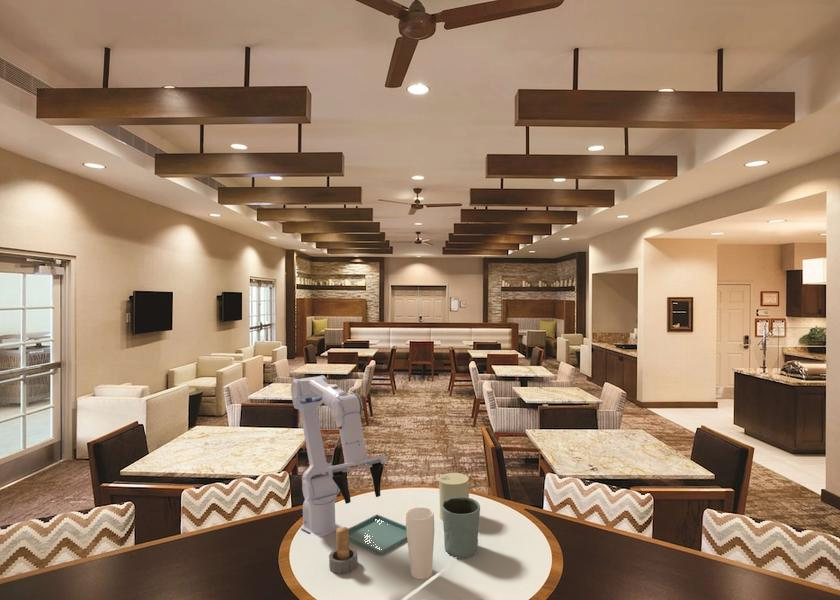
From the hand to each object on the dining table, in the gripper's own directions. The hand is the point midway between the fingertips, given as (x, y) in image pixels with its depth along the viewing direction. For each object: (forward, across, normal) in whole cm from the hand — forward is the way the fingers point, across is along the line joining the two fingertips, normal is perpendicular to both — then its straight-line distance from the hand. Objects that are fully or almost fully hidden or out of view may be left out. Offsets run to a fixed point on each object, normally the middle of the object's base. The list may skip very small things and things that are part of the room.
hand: (363, 499), depth 119 cm
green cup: (+19, +19, +16) cm, 32 cm away
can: (+14, +17, +34) cm, 41 cm away
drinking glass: (+20, +10, +4) cm, 23 cm away
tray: (+13, -3, +20) cm, 24 cm away
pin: (+15, -9, +5) cm, 18 cm away
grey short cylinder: (+15, -9, +5) cm, 19 cm away
